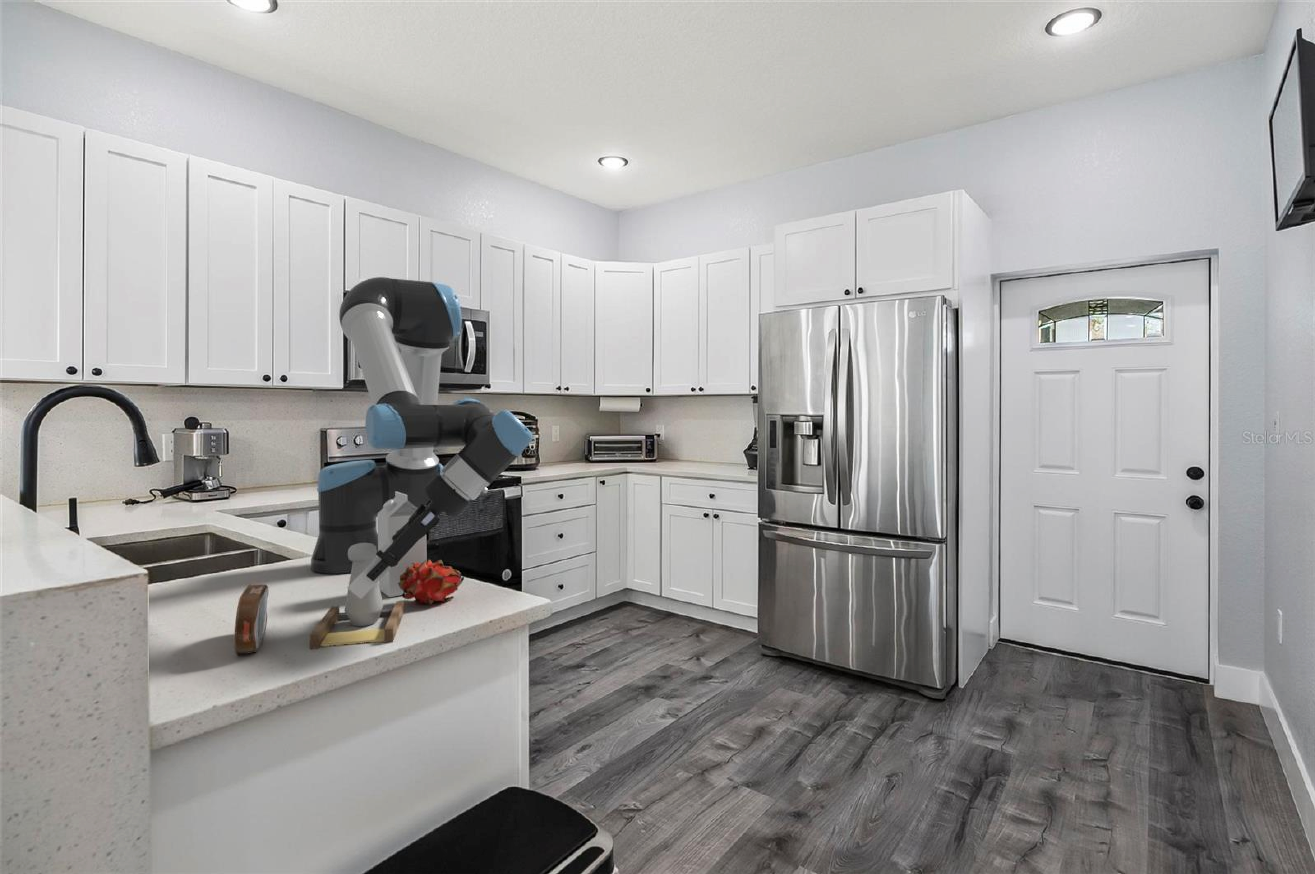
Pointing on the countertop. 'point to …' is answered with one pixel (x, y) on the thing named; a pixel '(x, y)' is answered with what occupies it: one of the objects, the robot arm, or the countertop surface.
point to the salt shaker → (371, 603)
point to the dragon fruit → (429, 582)
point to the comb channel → (335, 615)
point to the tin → (251, 619)
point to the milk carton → (388, 525)
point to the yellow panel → (353, 637)
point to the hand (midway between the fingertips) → (361, 582)
